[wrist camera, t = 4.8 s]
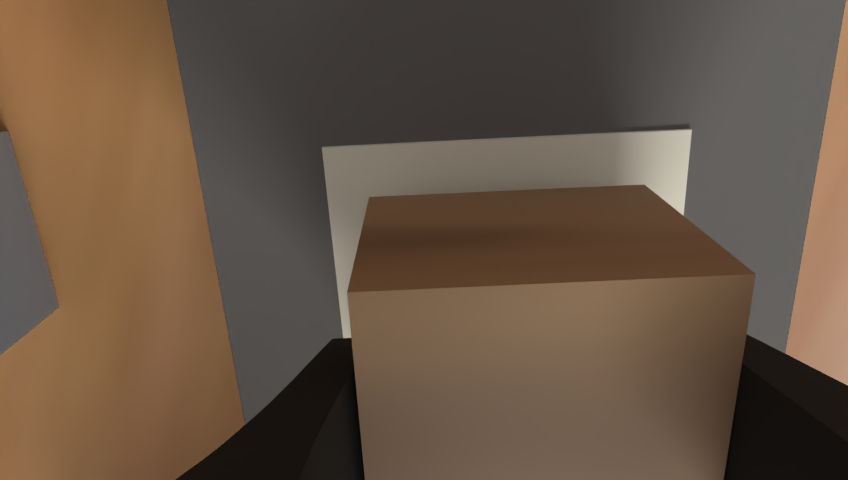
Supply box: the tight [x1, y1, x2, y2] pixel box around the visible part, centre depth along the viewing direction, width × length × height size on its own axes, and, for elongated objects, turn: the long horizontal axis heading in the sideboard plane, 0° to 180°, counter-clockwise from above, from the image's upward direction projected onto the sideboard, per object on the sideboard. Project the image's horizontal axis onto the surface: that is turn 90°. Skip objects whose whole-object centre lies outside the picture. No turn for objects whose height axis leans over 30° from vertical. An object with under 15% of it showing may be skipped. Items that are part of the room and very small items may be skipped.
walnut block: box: [347, 184, 756, 480], centre depth 10 cm, size 5×5×4 cm
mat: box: [167, 0, 846, 425], centre depth 14 cm, size 14×12×1 cm
